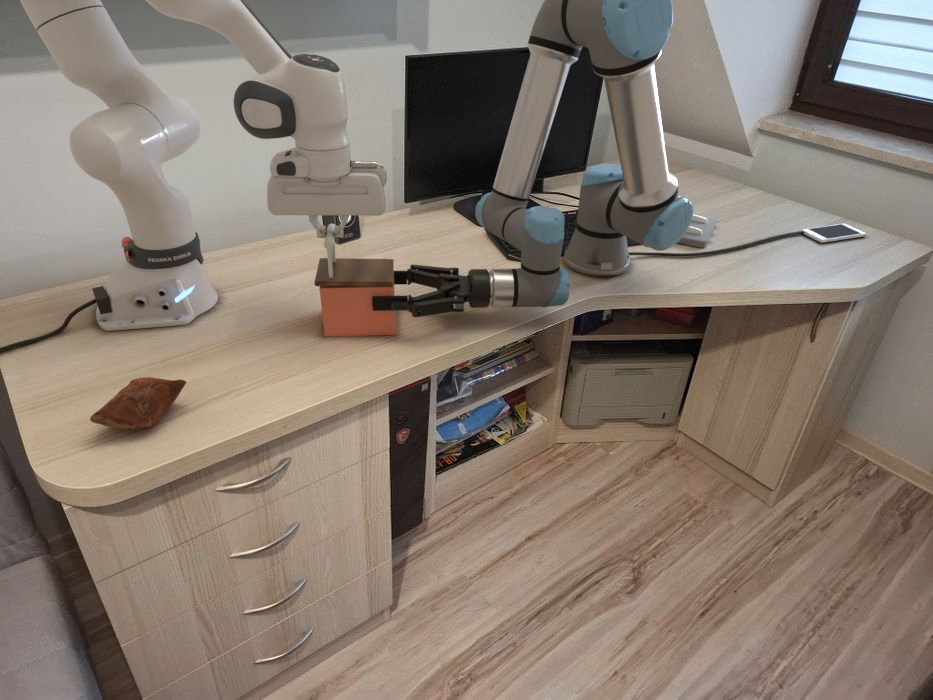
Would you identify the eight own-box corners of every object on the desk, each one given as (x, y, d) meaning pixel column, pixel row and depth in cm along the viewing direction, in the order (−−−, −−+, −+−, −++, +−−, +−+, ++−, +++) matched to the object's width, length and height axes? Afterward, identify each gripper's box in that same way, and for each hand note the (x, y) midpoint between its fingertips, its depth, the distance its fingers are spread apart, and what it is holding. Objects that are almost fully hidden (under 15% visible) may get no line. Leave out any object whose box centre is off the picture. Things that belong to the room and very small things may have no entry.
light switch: (708, 237, 159) (646, 224, 164) (705, 248, 160) (644, 236, 166) (717, 213, 172) (660, 202, 178) (714, 224, 174) (658, 213, 179)
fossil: (192, 375, 104) (155, 351, 95) (202, 420, 100) (164, 400, 91) (121, 406, 104) (76, 386, 95) (128, 452, 100) (83, 436, 91)
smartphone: (800, 232, 171) (801, 229, 171) (843, 226, 176) (844, 222, 176) (821, 243, 166) (822, 239, 165) (865, 236, 171) (866, 232, 170)
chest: (324, 336, 121) (319, 288, 116) (328, 311, 129) (324, 265, 124) (395, 334, 123) (393, 287, 117) (395, 309, 131) (393, 264, 125)
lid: (314, 286, 115) (311, 242, 111) (320, 262, 123) (317, 221, 119) (393, 286, 117) (393, 243, 112) (393, 263, 125) (393, 222, 120)
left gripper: (386, 155, 111) (388, 229, 119) (266, 154, 109) (276, 229, 117) (385, 167, 106) (388, 243, 114) (259, 166, 104) (270, 244, 112)
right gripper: (495, 335, 117) (372, 337, 115) (481, 279, 136) (375, 280, 134) (497, 299, 113) (370, 301, 111) (483, 246, 131) (374, 247, 129)
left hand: (330, 236), depth 115 cm, fingers closed on lid, 2 cm apart
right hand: (373, 290), depth 122 cm, fingers closed on chest, 9 cm apart
